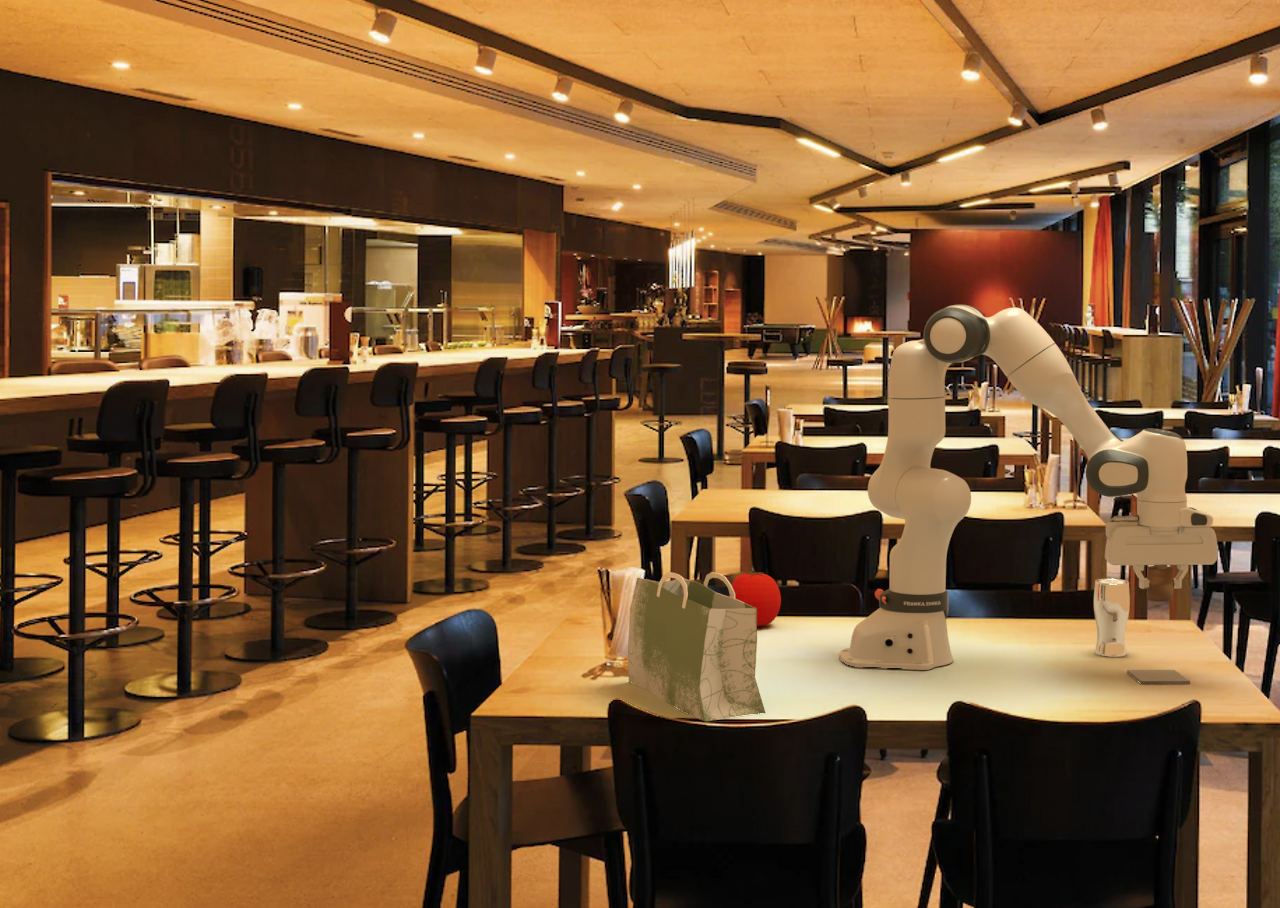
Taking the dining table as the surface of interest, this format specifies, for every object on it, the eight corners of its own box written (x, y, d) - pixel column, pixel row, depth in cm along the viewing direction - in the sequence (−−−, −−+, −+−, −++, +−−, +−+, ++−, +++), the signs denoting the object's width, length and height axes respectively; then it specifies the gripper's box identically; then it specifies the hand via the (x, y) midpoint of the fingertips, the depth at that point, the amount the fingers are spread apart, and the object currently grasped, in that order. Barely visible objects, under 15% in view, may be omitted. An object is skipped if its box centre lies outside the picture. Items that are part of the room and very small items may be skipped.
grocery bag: (772, 712, 264) (772, 581, 262) (701, 722, 258) (700, 588, 256) (689, 674, 293) (689, 556, 291) (624, 682, 287) (623, 561, 285)
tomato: (746, 619, 346) (746, 564, 345) (790, 624, 339) (790, 569, 338) (717, 628, 336) (716, 572, 335) (762, 634, 329) (762, 577, 328)
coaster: (1141, 684, 282) (1141, 681, 282) (1127, 673, 291) (1127, 669, 291) (1189, 684, 281) (1190, 680, 281) (1174, 672, 290) (1174, 669, 290)
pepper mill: (1151, 601, 283) (1152, 562, 282) (1143, 597, 287) (1144, 558, 286) (1176, 601, 282) (1176, 562, 282) (1168, 596, 287) (1169, 558, 286)
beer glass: (1130, 658, 303) (1132, 584, 302) (1094, 657, 304) (1095, 583, 303) (1126, 651, 310) (1128, 578, 308) (1091, 649, 311) (1092, 577, 310)
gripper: (1110, 518, 280) (1109, 591, 282) (1221, 517, 280) (1220, 590, 281) (1101, 513, 287) (1100, 585, 288) (1209, 512, 286) (1208, 584, 287)
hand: (1160, 588), depth 284 cm, fingers closed on pepper mill, 5 cm apart
